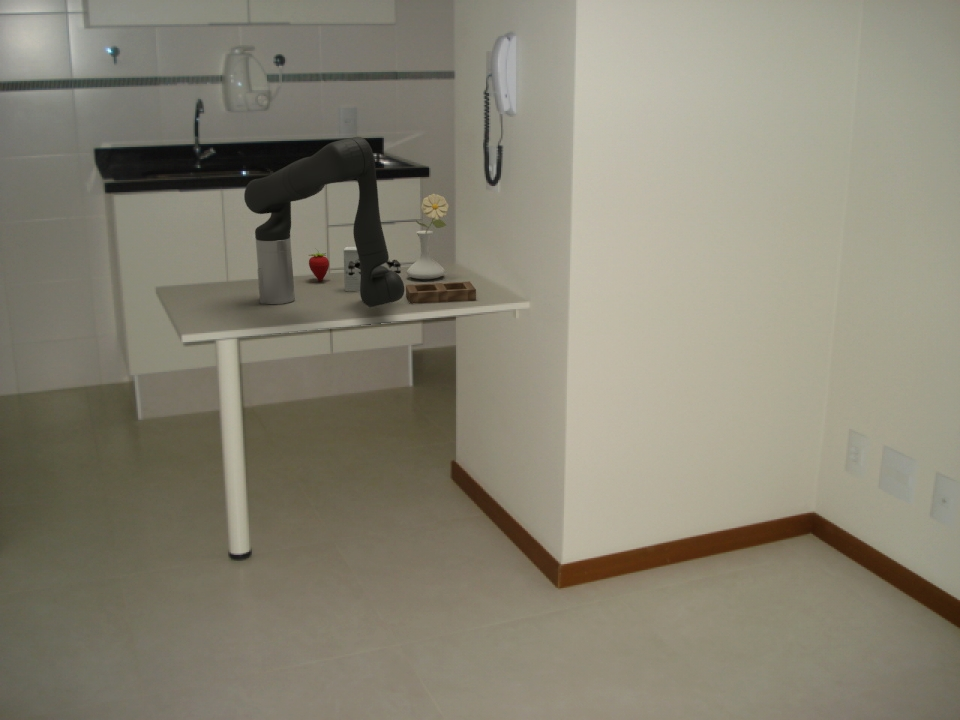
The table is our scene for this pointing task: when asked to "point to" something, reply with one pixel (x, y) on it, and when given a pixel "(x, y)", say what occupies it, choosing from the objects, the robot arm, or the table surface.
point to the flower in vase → (425, 264)
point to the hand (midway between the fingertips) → (371, 261)
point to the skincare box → (350, 281)
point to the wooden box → (440, 292)
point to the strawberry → (319, 265)
